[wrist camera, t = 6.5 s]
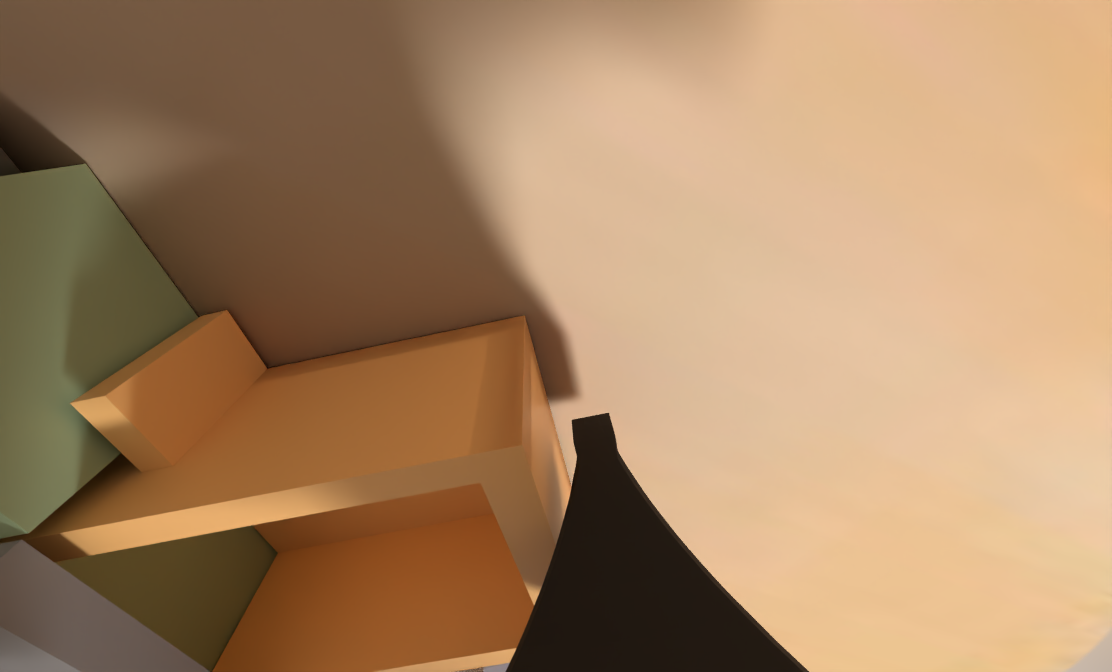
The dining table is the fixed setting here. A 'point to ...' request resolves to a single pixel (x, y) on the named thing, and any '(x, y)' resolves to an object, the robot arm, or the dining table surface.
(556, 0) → the dining table surface
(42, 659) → the green block with wheels
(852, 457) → the dining table surface
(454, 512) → the wooden drawer
